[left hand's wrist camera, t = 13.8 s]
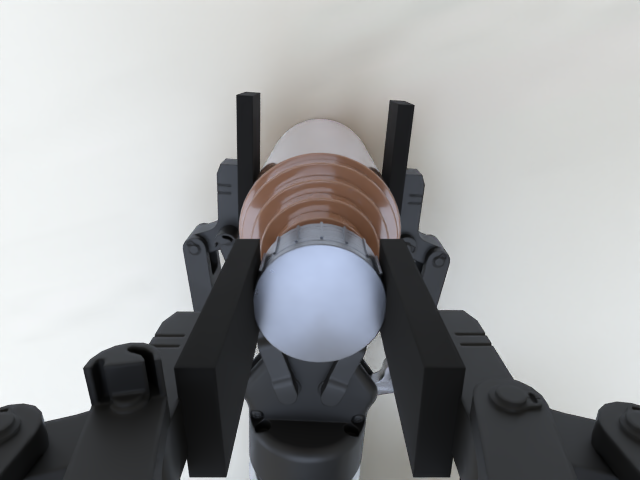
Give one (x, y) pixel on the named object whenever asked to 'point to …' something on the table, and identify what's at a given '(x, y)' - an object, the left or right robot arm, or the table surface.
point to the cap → (319, 293)
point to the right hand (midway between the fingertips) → (325, 99)
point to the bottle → (319, 187)
